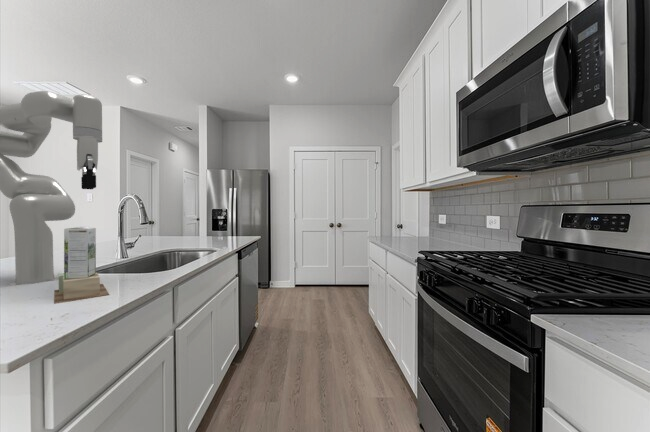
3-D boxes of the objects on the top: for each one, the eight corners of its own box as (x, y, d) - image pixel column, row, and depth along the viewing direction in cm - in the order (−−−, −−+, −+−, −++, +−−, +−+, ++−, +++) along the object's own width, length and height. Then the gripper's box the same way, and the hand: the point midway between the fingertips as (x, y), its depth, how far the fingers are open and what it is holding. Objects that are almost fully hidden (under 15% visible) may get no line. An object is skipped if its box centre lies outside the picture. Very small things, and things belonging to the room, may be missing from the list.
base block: (63, 293, 89) (62, 276, 89) (97, 288, 94) (96, 272, 94) (63, 299, 83) (63, 281, 83) (100, 294, 88) (99, 277, 88)
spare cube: (58, 289, 93) (58, 273, 93) (79, 286, 96) (79, 271, 96) (58, 293, 89) (58, 276, 89) (80, 290, 92) (80, 273, 92)
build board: (54, 294, 93) (54, 290, 93) (102, 288, 101) (102, 283, 101) (54, 309, 79) (53, 303, 79) (109, 300, 87) (109, 294, 87)
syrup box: (73, 275, 90) (72, 227, 90) (96, 274, 92) (96, 226, 92) (63, 279, 85) (62, 228, 84) (88, 278, 87) (87, 227, 86)
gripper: (72, 138, 102) (72, 189, 102) (73, 128, 89) (74, 186, 89) (99, 141, 107) (100, 190, 107) (105, 132, 94) (105, 187, 94)
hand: (88, 188), depth 98 cm, fingers open, 9 cm apart
